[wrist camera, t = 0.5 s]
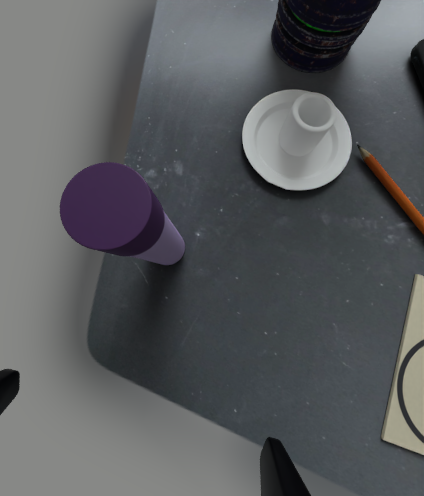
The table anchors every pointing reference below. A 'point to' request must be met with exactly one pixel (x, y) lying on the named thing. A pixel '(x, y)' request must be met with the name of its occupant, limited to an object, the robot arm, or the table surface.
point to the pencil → (393, 189)
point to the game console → (419, 60)
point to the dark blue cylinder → (319, 31)
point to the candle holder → (297, 139)
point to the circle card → (409, 380)
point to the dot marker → (119, 215)
